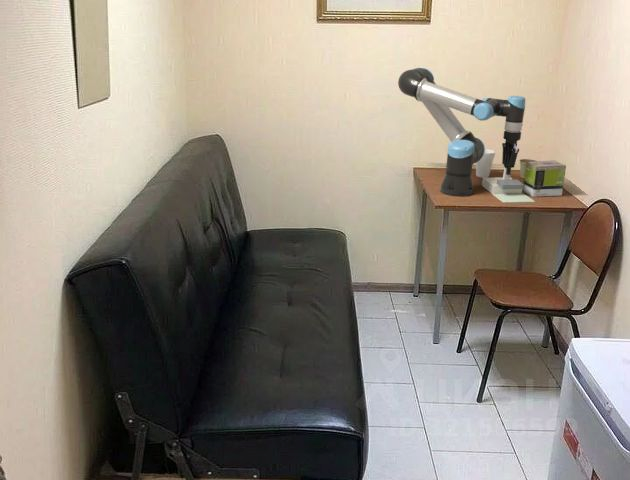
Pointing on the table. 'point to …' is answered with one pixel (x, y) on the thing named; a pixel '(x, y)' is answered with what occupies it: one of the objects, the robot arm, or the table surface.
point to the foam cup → (485, 164)
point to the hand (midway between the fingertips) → (505, 180)
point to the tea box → (544, 178)
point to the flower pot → (523, 166)
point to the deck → (494, 188)
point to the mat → (513, 198)
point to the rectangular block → (510, 184)
